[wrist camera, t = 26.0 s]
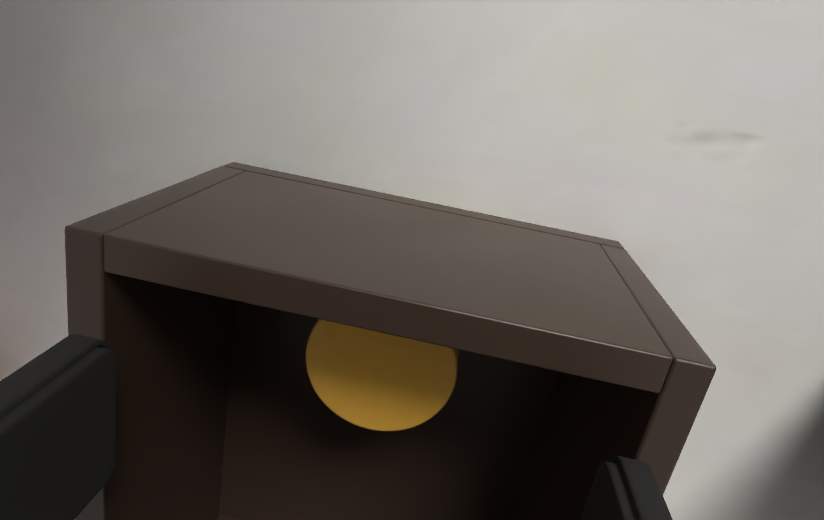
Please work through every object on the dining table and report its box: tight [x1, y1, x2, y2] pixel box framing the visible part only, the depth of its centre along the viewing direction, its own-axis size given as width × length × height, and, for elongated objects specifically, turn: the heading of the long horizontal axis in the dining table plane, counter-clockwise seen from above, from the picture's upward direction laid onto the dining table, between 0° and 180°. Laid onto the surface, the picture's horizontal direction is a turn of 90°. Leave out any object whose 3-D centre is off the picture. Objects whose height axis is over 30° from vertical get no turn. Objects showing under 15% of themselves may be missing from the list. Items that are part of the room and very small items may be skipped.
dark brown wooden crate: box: [65, 162, 716, 520], centre depth 17 cm, size 15×13×8 cm
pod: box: [306, 319, 459, 431], centre depth 16 cm, size 4×4×4 cm
